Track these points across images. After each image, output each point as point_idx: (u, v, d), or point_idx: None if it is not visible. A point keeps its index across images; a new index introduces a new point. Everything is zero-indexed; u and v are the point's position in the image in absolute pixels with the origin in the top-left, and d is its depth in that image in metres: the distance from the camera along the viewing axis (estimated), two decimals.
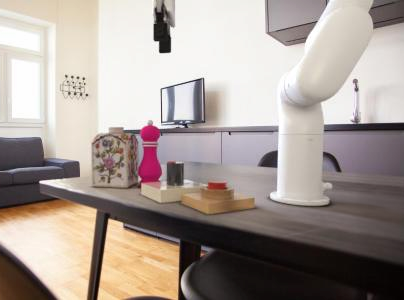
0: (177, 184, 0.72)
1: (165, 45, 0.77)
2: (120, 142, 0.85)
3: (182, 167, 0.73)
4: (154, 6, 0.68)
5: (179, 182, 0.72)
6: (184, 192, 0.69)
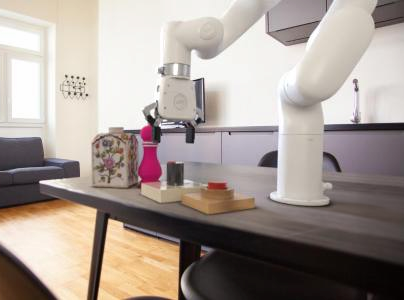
0: (177, 184, 0.72)
1: (189, 136, 0.76)
2: (120, 142, 0.85)
3: (182, 167, 0.73)
4: (154, 111, 0.73)
5: (179, 182, 0.72)
6: (184, 192, 0.69)
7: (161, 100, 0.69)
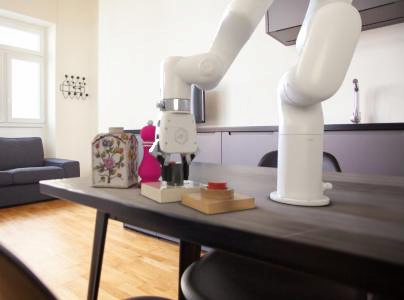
0: (177, 184, 0.72)
1: None
2: (120, 142, 0.85)
3: (182, 167, 0.73)
4: None
5: (179, 182, 0.72)
6: (184, 192, 0.69)
7: (162, 135, 0.70)
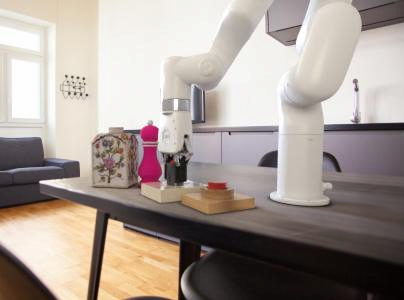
0: None
1: None
2: (120, 142, 0.85)
3: (170, 167, 0.72)
4: None
5: (167, 181, 0.73)
6: (184, 192, 0.69)
7: None
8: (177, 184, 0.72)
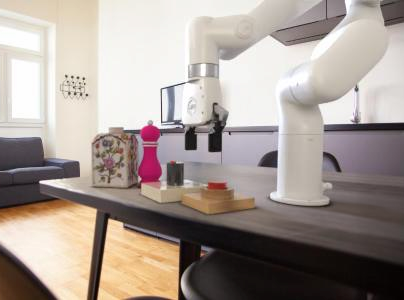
0: None
1: None
2: (120, 142, 0.85)
3: (170, 167, 0.72)
4: None
5: (167, 181, 0.73)
6: (184, 192, 0.69)
7: None
8: (177, 184, 0.72)
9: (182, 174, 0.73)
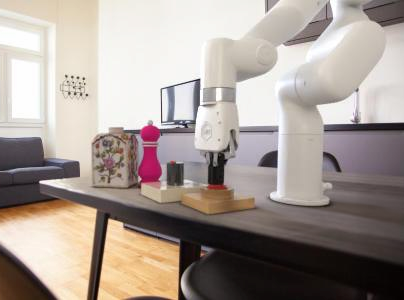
0: None
1: None
2: (120, 142, 0.85)
3: (170, 167, 0.72)
4: None
5: (167, 181, 0.73)
6: (184, 192, 0.69)
7: None
8: (177, 184, 0.72)
9: (182, 174, 0.73)
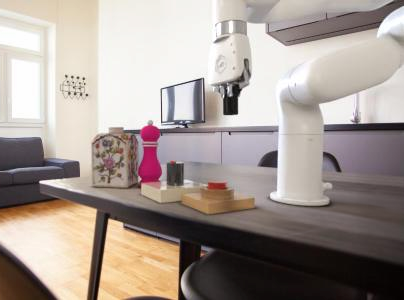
0: None
1: None
2: (120, 142, 0.85)
3: (170, 167, 0.72)
4: None
5: (167, 181, 0.73)
6: (184, 192, 0.69)
7: None
8: (177, 184, 0.72)
9: (182, 174, 0.73)
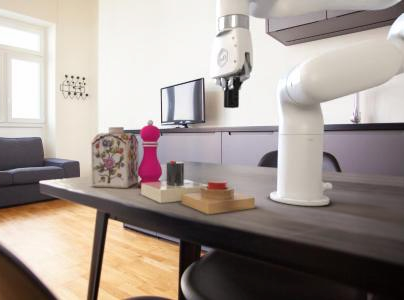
0: None
1: None
2: (120, 142, 0.85)
3: (170, 167, 0.72)
4: None
5: (167, 181, 0.73)
6: (184, 192, 0.69)
7: None
8: (177, 184, 0.72)
9: (182, 174, 0.73)
